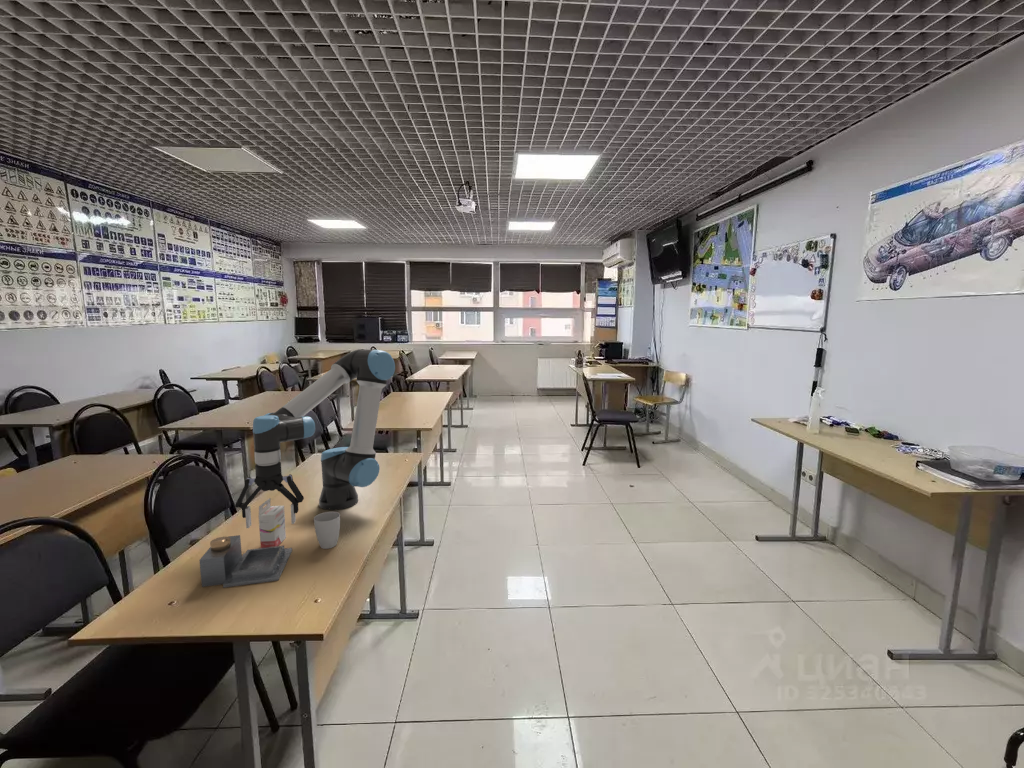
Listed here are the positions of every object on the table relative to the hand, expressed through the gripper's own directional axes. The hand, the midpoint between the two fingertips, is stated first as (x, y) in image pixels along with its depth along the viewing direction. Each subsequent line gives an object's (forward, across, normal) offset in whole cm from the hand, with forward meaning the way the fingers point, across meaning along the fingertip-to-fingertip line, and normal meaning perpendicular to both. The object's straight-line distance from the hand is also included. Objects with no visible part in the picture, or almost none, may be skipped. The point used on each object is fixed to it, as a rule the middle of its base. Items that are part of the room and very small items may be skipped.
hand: (271, 524), depth 150 cm
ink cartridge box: (+7, 0, 0) cm, 7 cm away
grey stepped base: (+7, +3, +16) cm, 17 cm away
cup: (+7, -18, +6) cm, 20 cm away
